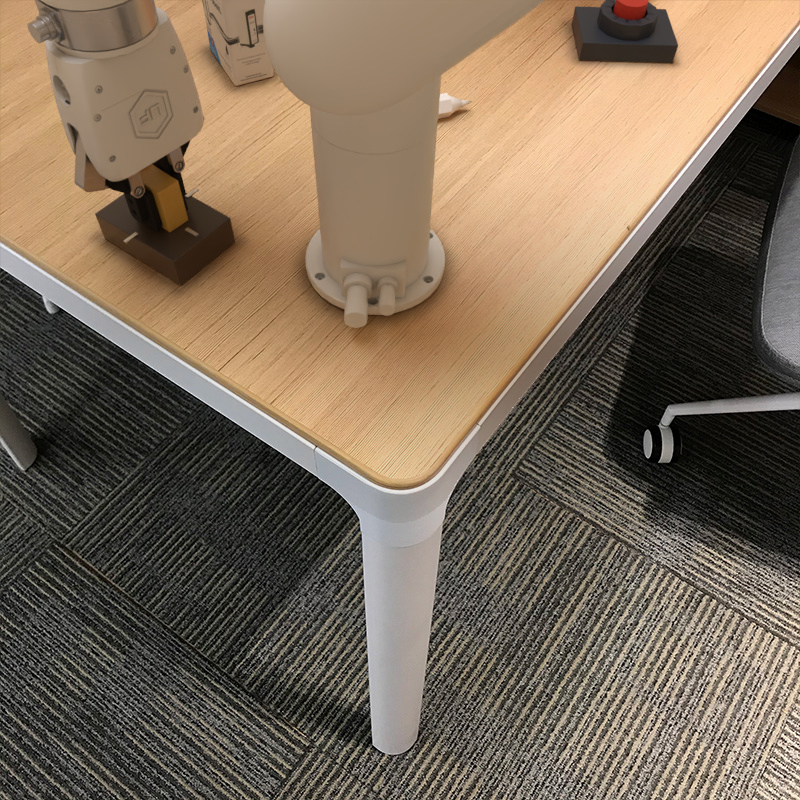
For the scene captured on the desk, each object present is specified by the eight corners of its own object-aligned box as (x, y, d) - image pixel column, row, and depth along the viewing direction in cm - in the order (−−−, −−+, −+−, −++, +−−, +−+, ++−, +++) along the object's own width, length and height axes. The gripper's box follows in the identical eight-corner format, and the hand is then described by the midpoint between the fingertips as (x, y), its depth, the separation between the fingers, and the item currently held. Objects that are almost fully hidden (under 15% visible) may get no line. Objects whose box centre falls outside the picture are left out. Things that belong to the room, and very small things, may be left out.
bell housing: (672, 63, 90) (683, 30, 87) (578, 60, 90) (586, 27, 86) (660, 26, 94) (670, -7, 91) (571, 23, 94) (578, -9, 91)
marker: (471, 115, 84) (331, 141, 81) (466, 97, 85) (326, 122, 81) (478, 104, 82) (334, 130, 78) (473, 85, 82) (328, 111, 78)
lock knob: (189, 220, 68) (177, 178, 65) (170, 233, 67) (157, 191, 64) (154, 197, 70) (141, 155, 66) (136, 210, 69) (121, 167, 65)
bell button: (646, 22, 88) (651, 7, 87) (615, 21, 88) (619, 6, 87) (641, 5, 90) (645, -10, 89) (611, 5, 90) (614, -11, 89)
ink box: (209, 49, 90) (188, -58, 80) (249, 39, 91) (233, -67, 81) (234, 88, 85) (216, -21, 76) (276, 77, 87) (263, -31, 77)
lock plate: (242, 237, 72) (237, 210, 69) (173, 292, 68) (165, 266, 65) (166, 193, 75) (158, 167, 72) (96, 244, 71) (85, 217, 68)
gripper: (34, 80, 49) (116, 283, 64) (222, -15, 56) (256, 187, 71) (-33, 37, 51) (61, 241, 66) (155, -49, 58) (201, 153, 74)
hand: (161, 212), depth 68 cm, fingers closed on lock knob, 2 cm apart
